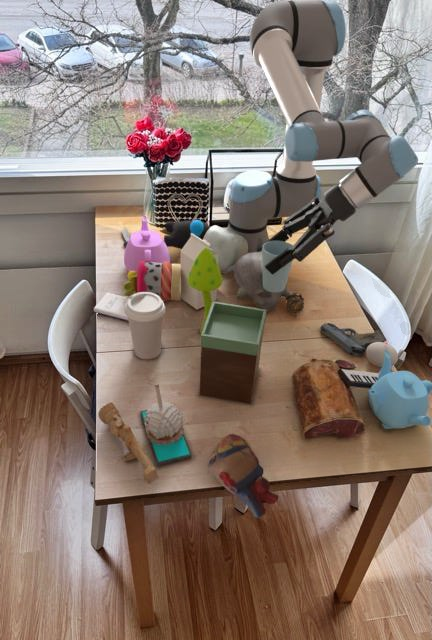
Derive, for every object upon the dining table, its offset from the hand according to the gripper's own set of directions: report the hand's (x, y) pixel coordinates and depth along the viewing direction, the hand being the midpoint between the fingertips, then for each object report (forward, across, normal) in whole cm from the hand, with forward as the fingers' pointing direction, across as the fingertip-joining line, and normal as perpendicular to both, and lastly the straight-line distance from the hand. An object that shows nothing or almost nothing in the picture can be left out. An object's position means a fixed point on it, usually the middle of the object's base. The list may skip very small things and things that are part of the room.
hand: (266, 260), depth 129 cm
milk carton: (+26, +13, -4) cm, 29 cm away
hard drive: (+36, +6, +7) cm, 37 cm away
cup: (+3, -1, -7) cm, 8 cm away
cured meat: (+5, -25, -24) cm, 35 cm away
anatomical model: (+19, -44, -1) cm, 48 cm away
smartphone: (+32, -36, +2) cm, 48 cm away
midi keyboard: (-4, -21, -28) cm, 35 cm away
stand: (+21, -20, -8) cm, 30 cm away
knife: (+42, +42, +12) cm, 60 cm away
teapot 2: (-4, -31, -33) cm, 46 cm away
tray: (+11, -20, +2) cm, 22 cm away
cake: (+26, +14, +3) cm, 29 cm away
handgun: (-7, -1, -35) cm, 36 cm away
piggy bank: (+14, +15, -16) cm, 26 cm away
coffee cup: (+35, -8, +5) cm, 37 cm away
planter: (+12, +25, -9) cm, 30 cm away
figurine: (+30, -49, +7) cm, 58 cm away
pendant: (+5, +8, -24) cm, 25 cm away
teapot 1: (+36, +29, +6) cm, 47 cm away
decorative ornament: (+31, -35, +3) cm, 47 cm away
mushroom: (+25, -1, -5) cm, 26 cm away
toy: (+29, +39, +6) cm, 48 cm away
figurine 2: (-10, -14, -30) cm, 35 cm away
